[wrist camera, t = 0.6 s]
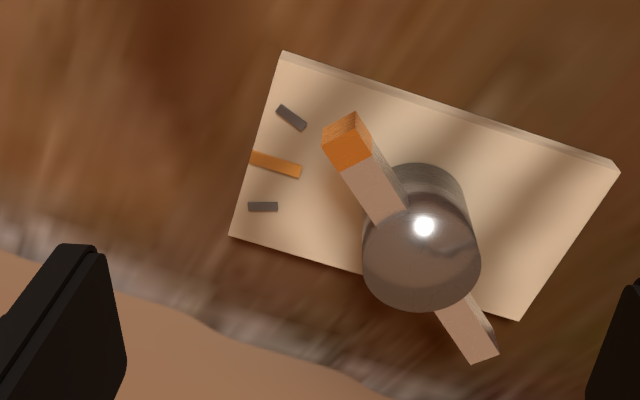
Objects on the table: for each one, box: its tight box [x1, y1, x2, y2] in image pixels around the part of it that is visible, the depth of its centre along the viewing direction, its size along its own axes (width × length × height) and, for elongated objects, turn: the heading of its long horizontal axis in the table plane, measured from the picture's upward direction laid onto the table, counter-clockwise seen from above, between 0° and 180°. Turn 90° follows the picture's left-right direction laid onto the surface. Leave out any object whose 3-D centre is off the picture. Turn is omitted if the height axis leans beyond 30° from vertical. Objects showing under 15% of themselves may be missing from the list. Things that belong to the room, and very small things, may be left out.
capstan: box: [321, 111, 500, 365], centre depth 32 cm, size 16×6×6 cm, turn 32°
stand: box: [228, 50, 621, 321], centre depth 36 cm, size 20×12×2 cm, turn 72°
